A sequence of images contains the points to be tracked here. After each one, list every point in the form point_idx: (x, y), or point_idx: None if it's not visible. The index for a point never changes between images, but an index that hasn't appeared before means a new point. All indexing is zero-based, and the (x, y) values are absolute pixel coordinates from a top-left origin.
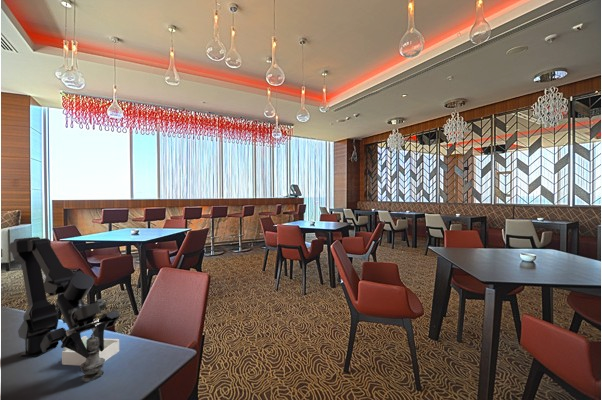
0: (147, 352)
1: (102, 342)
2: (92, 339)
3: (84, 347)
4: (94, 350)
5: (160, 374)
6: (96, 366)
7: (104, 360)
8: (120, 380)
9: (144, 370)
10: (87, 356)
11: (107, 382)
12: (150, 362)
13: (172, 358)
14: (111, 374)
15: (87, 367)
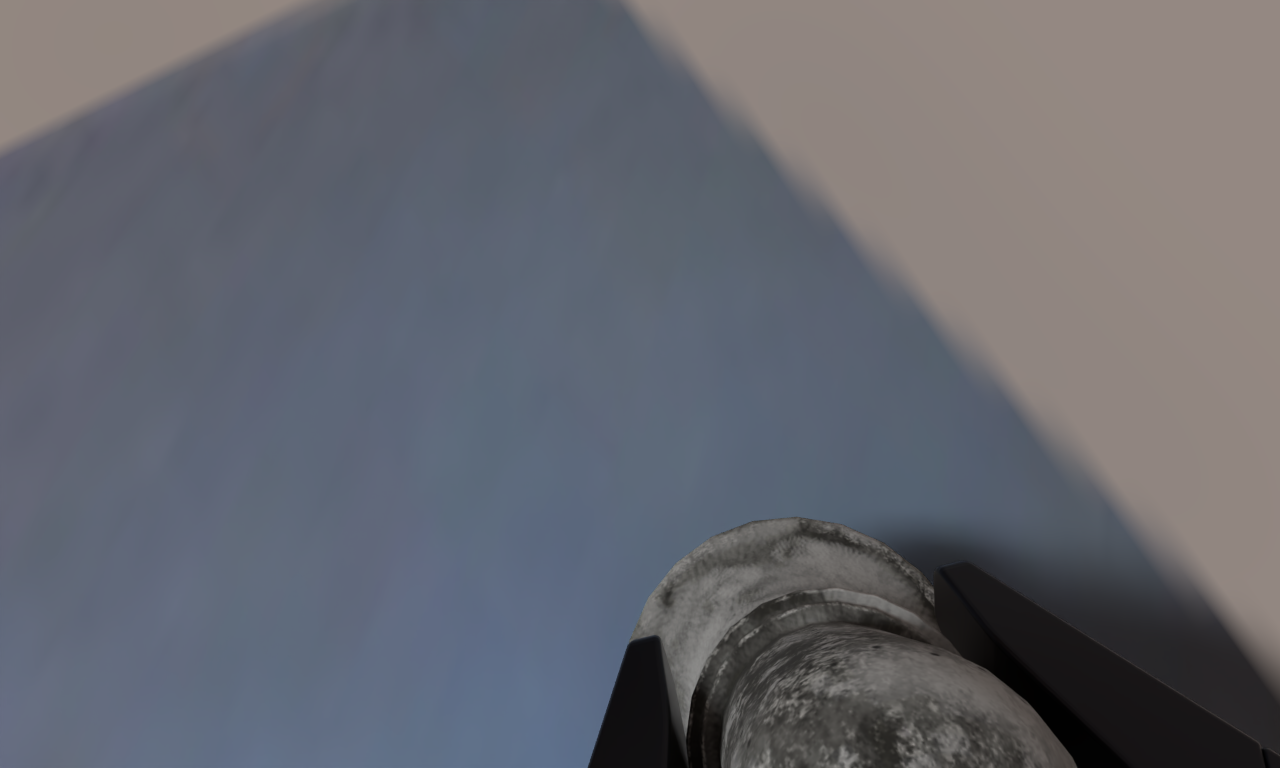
0: (82, 711)
1: (619, 765)
2: (957, 715)
3: (1108, 711)
4: (832, 617)
5: (296, 90)
6: (783, 518)
7: (642, 622)
8: (589, 286)
9: (345, 284)
10: (966, 563)
11: (696, 357)
12: (215, 403)
13: (39, 288)
14: (610, 502)
15: (896, 592)
